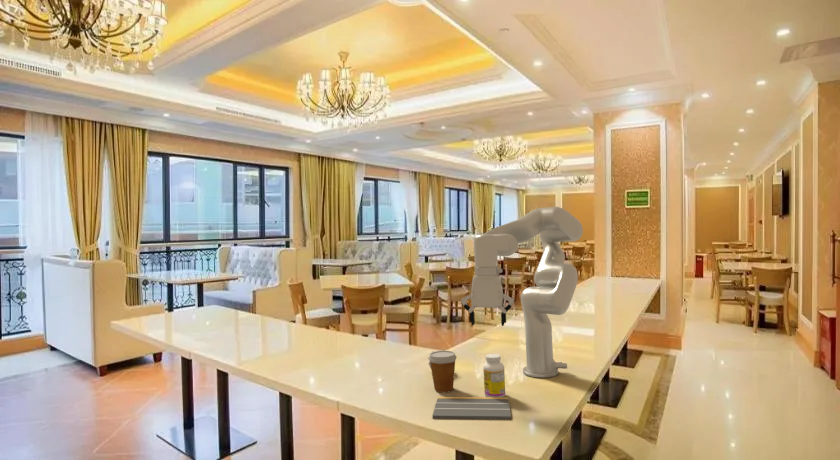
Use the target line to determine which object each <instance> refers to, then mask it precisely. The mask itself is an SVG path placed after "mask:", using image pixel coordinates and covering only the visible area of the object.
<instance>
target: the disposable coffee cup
mask: <svg viewBox="0 0 840 460" xmlns="http://www.w3.org/2000/svg"><path fill="white" fill-rule="evenodd" d="M434 351H435V350H434ZM428 360H429V361H430V364H431V368H430V370H431V375H432V380H433V381H432V382H433V388H434V391H435V390H436V391H435V392H437V391H438V393H449V392H452V391H453V390H454V383H455V382H454V381H455V371H456V370H455V369H456V360H457V356H456V353H455V352H454V351H451V350H436V351H435V352H430V353H429V357H428ZM429 361H428V362H429ZM451 390H452V391H451ZM448 391H449V392H448Z"/></svg>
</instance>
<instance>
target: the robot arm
mask: <svg viewBox="0 0 840 460" xmlns="http://www.w3.org/2000/svg"><path fill="white" fill-rule="evenodd" d="M583 233H584V228H583V225H582V223H581V222H580V220H579V219H578V218H576V217H575V216H574V215H572V213H570V212H568V211H567V210H566V209H564V208H562V207H560V206H549V207H538V208H535V209H533V210H531V211H529V212H528V213H526V214H525V215H523V216H521V217H519V218H518V219H516V220H513V221H509V222H508V223H504V224H502V225H499V226H496V227H494V228H491V229H489V230H487V232H484V233H483V234H478V235H475V236H474V239H473V247H474V248H473V250H474V251H473V254H474V258H473V259H474V276H472V282H471V292H470V294H468V295H466V296H464V297H462V298H461V299H460V302H461V305H462V306H463V308H464V309H465V310H466V311H467V312H468V313H469V323H471V326H474V325H475V323H476V318H475V316H476V315H475V314H476V313H475V311H474V310H475V309H476V308H490V309H491V308H498V309H499V310H500V311H501V314H500V317H501V319H500V322H501V324H500V325H501V326H502V327H504V326H505V324H506V323H507V313H508V311H509V310H510V309H511V308H512V306H513V304H514V303H515V298H513V297H510V296H509V295H507V294H505V293H504V291H503V283H502V282H503V281H502V277H501V276H500V275H499V274H502V273H503V268H499V265H498V264H499V261H498V259H499V257H510V256H512V255H515V254H516V252H517V251H518V248H519V244H521V243H525V242H529V241H530V240H532V239H533V238H535V237H537V235H539V238H540V242H541V244H542V255H541V257H540V260H539V263H538V265H537V268H536V270H535V272H534V276H533V281H534V283H535V285H536V286H529V287H526V288H524V290H522V292H521V294H520V303H521V308H522V312H523V317H524V318H523V319H524V328H525V329H524V332H525V333H524V334H525V352H526V366H525V367H523V368H522V374H523V375H526V376H528V377H532V378H540V379H541V378H553V377H556V376H557V375H559V369H562V370H563V369H565V370H566V369H568V363H567V362H562V361H555V360H554V349H553V347H554V346H553V331H552V330H553V327H552V322H551V320H550V317H549V315H554V316H555V315H556V316H561V315H564V314H566V312H567V311H568V310H569V307H570V304H571V301H572V299H573V296H574V293H575V291H576V288H577V285H578V280H579V276H578V275H579V274H578V270H577V268H576V267H575V266H574V265H572V264H571V263H568V262H567V263H564V262H565V259H566V255H565V252H564V250H563V249H562V247H561V246H560V244H559V243H560V242H561V243H562V242H563V243H564V242H576V241H579V240H581V238H582V236H583ZM469 300H470V301H471V306H470V305H469V304H468V303H467V301H469ZM504 300H505V301H508V304H507V305H505V306H504V305H503V304H504Z"/></svg>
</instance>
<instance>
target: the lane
mask: <svg viewBox="0 0 840 460" xmlns="http://www.w3.org/2000/svg"><path fill="white" fill-rule="evenodd" d="M509 401H510V400H509V397H507V396H504V397H486V396H437V399H436V403H435V406H434V409H433V413H432V419H452V420H453V419H454V420H455V419H458V420H461V419H464V420H512V416H511V407H510V402H509Z"/></svg>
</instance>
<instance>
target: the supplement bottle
mask: <svg viewBox="0 0 840 460" xmlns="http://www.w3.org/2000/svg"><path fill="white" fill-rule="evenodd" d="M485 360H486V362H485V363H484V364H483V369H482V370H483V385H484V386H483V387H484V388H483V390H484V391H483V392H484V397H506V380H505V379H506V378H505V365H504V364H503V363H502V362H501V354H499V353H489V354H486V355H485Z"/></svg>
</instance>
